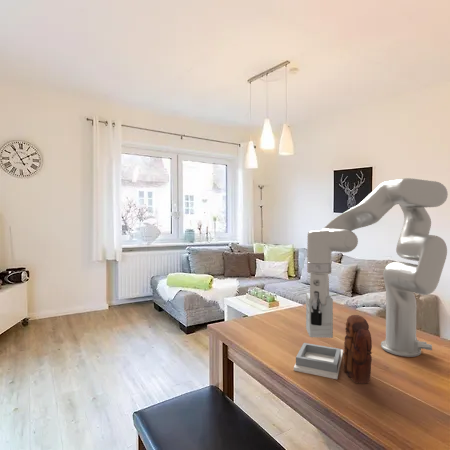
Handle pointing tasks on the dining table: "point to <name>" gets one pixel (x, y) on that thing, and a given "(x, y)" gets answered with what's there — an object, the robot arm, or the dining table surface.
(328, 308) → the supplement box
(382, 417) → the dining table surface
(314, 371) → the caddy
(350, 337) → the wooden figurine
